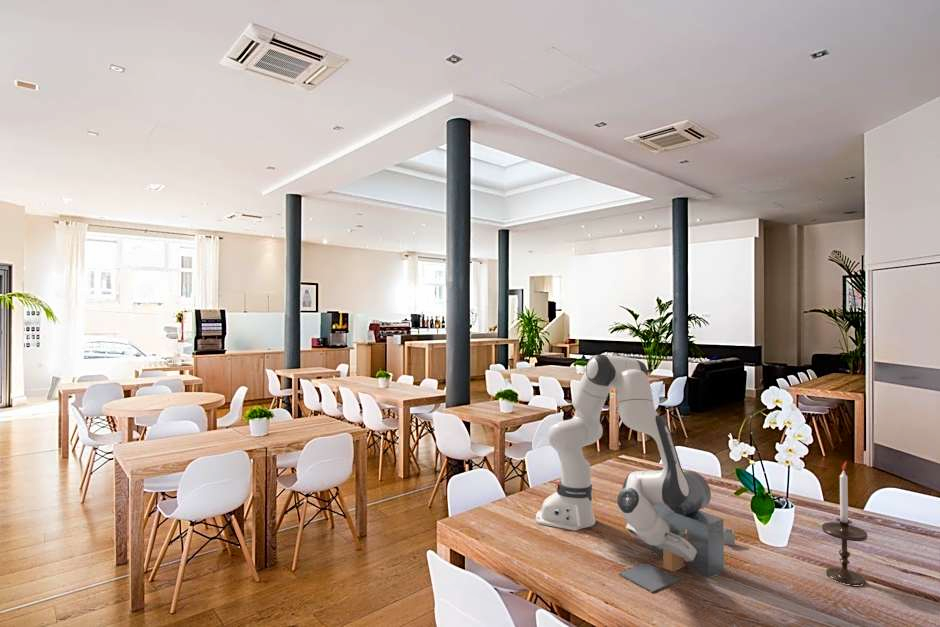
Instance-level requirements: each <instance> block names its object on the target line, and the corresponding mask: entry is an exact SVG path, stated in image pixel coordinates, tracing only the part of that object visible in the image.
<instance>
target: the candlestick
mask: <svg viewBox="0 0 940 627" xmlns="http://www.w3.org/2000/svg"><path fill="white" fill-rule="evenodd" d="M847 464H848V463H847V461H845V462H844V463H843V465H842V466H841V469H842V472H841V474H840V475H839V514H840V515H839V517H838V518H836V519H835V520H836V521H837V522H835V521H833V522H824V523H822V524H821V531H822V532H823V533H825V534H827V535H829V536H830V537H833V538H836V539H839V540H841V549H840V550H838V554H839V555H840V556H841V558H839V562H840V563H841V568H840V567H830V568H827V569H826V571H825V574H827V575H826V576H828V577H830V578H831V579H833V580H836V581H838V582H841V583H845V584H850V585H861V584H863V583H864V584H865V578H864V577H863V576H862V575H860V574H858V573H857V572H854V571H851V570H849V569H848V566H849V565H850V563H851V562H850V561H849V558H850V556H851V552H850V551H848V542H850V541H851V542H864V541H867V540H868V533H867V531H865V530H864V529H862V528H861V527H857V526H855V525H852V524H853V521H852V520H850V519H849V497H848V496H849V495H848V494H849V493H848V492H849V491H848V490H849V489H848V487H849V486H848V483H849V482H848V475H846V474H847V473H846V467H847ZM828 577H827V578H828ZM830 578H829V579H830ZM831 579H830V580H831ZM833 580H832V581H833Z"/></svg>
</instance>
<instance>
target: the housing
mask: <svg viewBox="0 0 940 627" xmlns="http://www.w3.org/2000/svg"><path fill="white" fill-rule="evenodd" d="M683 473H684V475H685V477H686V480H687V483H688V486H689V496H688V497H687V499H686V500H685V501H684V502H683V503H682V504H681V505H679V506H675V505H666V504H654V509H655V510H656V511H657V512H658V513H659V514H660V515H661V516H662V518H663V519H664V520H665V521H666V522H667V524H668V526H669V532H671V533H673V534H676V535H678V536H681V535H683V534H686V533H687V541H688V542H689V543H690V544H691V545H692V546H693V547H694V548H695V549H696V551H697V553H696V556H695V558H694V559H693V561H688V562H687V565H686V566H687V570H689V571H691V570H692V571H691V572H693V571H694V572H693V573H695V572H696V574H697V573H698V575H699V576H702V577H704V576H705V578H706V577H707V578H706V579H708V578H709V579H711V578H713V577H715V576H717V575H718V574H721V573H723V572H724V571H725V562H724V561H725V560H724V559H725V557H724V556H725V554H724V553H725V552H724V550H725V548H724V535H723V530H724V518H722V517H719V516H717V515H714V514H711V513H708V512H705V511H702V510H703V509H705V508H707V506H709V504H710V503H711V497H712V492H711V488H710V486H709V484H708V482H707V480H706V479H705V478H704V476H702V475H701V474H700V473H698V472H696V471H694V470H685V471H683ZM651 553H652V554H654V553H655V554H654V555H656V554H657V555H656V556H658V555H659V557H660V556H662V557H661V558H663V549H661V550H660V549H658V548H656V547H655V546H654V545H651ZM714 575H715V576H714ZM712 576H713V577H712ZM710 577H711V578H710Z"/></svg>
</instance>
